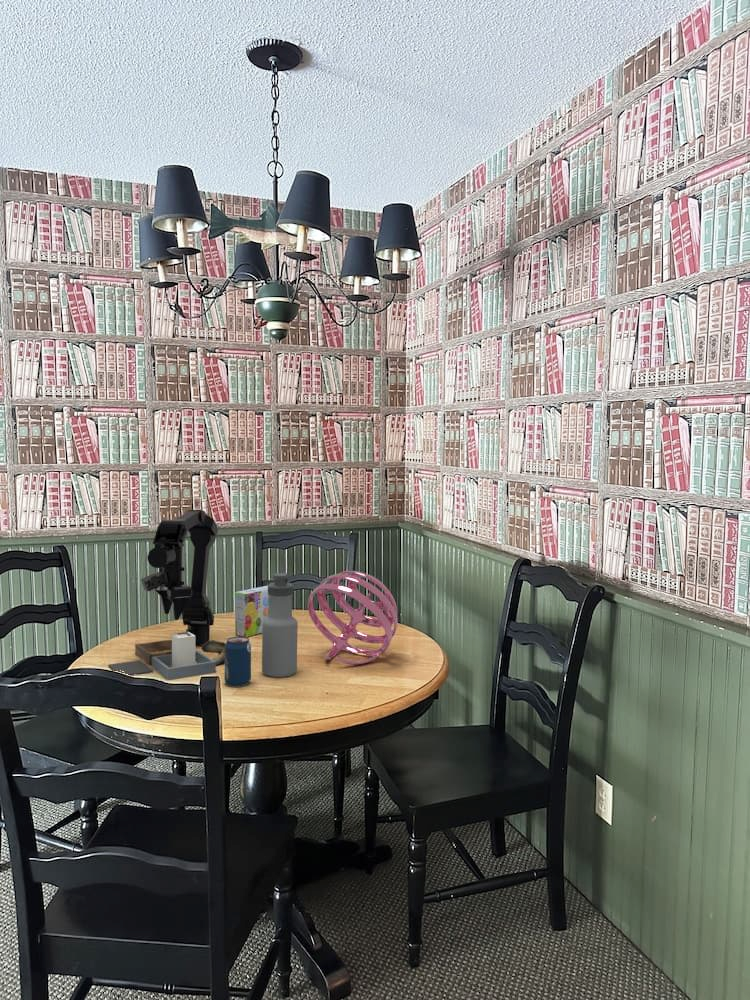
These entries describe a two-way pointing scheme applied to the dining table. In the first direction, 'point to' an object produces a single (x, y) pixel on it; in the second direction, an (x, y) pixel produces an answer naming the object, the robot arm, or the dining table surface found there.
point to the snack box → (251, 610)
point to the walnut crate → (152, 649)
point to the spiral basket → (355, 614)
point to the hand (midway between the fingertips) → (171, 616)
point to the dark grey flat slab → (131, 667)
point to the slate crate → (202, 667)
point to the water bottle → (279, 630)
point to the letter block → (183, 649)
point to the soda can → (237, 661)
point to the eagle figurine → (215, 650)
